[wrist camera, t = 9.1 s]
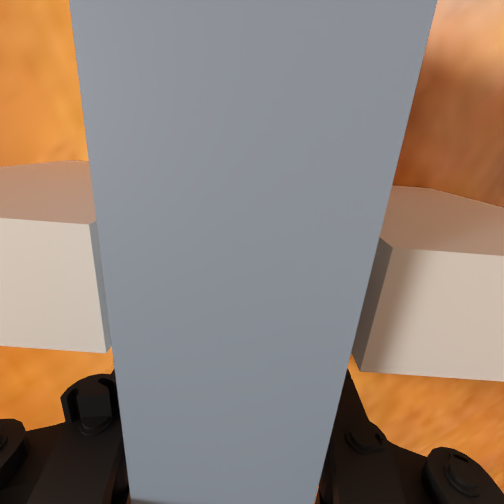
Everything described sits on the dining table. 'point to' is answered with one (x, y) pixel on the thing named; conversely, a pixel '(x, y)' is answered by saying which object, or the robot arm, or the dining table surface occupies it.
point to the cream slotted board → (375, 302)
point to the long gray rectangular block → (239, 223)
